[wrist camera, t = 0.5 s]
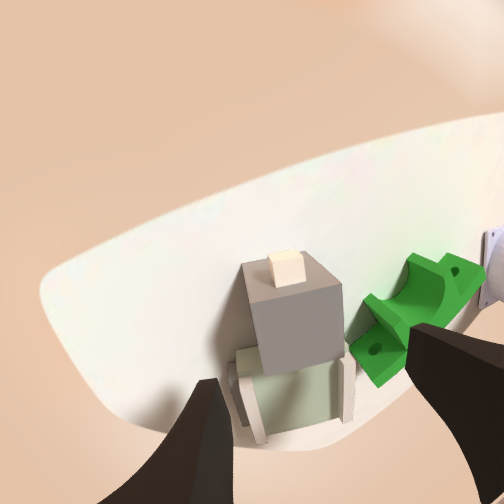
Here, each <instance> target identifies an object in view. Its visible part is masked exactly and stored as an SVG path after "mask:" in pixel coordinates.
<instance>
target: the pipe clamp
mask: <svg viewBox="0 0 504 504" xmlns="http://www.w3.org/2000/svg"><path fill="white" fill-rule="evenodd" d="M407 262H408V265H409V276H408V279H407V282H406V284H405V286H404V288H403V289H402V291H401V292H400V293H399V294H398V295H396V296H395V297H393V298H391V299H388V300H379V299H377V298H376V297H375V296H374V295H372V294H371V293H370V294H369V295H368V296H367V297H366V298H365V299H364V300H363V301H364V302H365V304H366V305H367V306H368V308H369V309H370V311H371V312H372V314H373V315H374V317H375V318H376V320H377V321H378V323H377V324H376V325H374V326H373V327H372V328H371V329H370V330H369V331H368V332H366V333H365V334H364V335H363V336H362V337H360V338H359V339H358V340H357V341H356V342H354V343H353V344H352V345H351V346H349V349H350V351H351V352H352V354H353V355H354V356H355V358H356V359H357V361H358V362H359V363H360V365H361V366H362V368H363V369H364V371H365V372H366V373H367V375H368V376H369V378H370V379H371V381H372V382H373V383H374V384H375V385H376V387H377V388H379V387H381V386H382V385H383V384H384V383H386V382H387V381H388V380H389V379H391V378H392V377H393V376H394V375H395V374H397V373H398V372H399V371H400V370H401V369H402V368H403V367H405V364H406V357H407V349H408V341H409V332H410V327H412V326H414V325H417V324H419V323H427V324H431V325H434V326H438V327H441V328H445V327H446V326H447V325H448V324H449V323H450V322H451V320H452V319H453V318H454V317H455V316H456V315H457V314H458V313H459V311H460V310H461V309H462V308H463V307H464V306H465V304H466V303H467V302H468V301H469V300H470V298H471V297H472V296H473V295H474V294H475V292H476V291H477V290H478V289H479V287H480V286H481V285H482V283H483V282H484V281H485V279H486V278H487V277H486V273H485V270H484V267H483V266H480V265H478V264H475V263H473V262H470V261H468V260H465V259H463V258H460V257H458V256H455V255H453V254H450V253H446V255H445V256H444V257H443V258H442V259H441V260H440V261H439V262H438V263H436V262H433V261H431V260H429V259H427V258H424V257H422V256H420V255H417V254H415V253H412V254H411V255H410V256H409V257H408V258H407Z"/></svg>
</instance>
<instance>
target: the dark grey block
mask: <svg viewBox="0 0 504 504" xmlns="http://www.w3.org/2000/svg"><path fill="white" fill-rule="evenodd" d="M242 268H243V273H244V278H245V283H246V288H247V293H248V298H249V303H250V308H251V313H252V318H253V323H254V328H255V333H256V337H257V342H258V347H259V352H260V357H261V361H262V366H263V371H264V376H265V377H268V376H273V375H278V374H282V373H287V372H291V371H295V370H299V369H304V368H308V367H311V366H315V365H319V364H323V363H326V362H330V361H333V360H337V359H340V358H344V357H345V345H344V314H343V295H342V283H341V282H340V281H339V280H338V279H336V278H335V277H334V276H333V275H332V274H331V273H330V272H329V271H327V270H326V269H325V268H324V267H323V266H322V265H321V264H320V263H318V262H317V261H316V260H315V259H314V258H313V257H312V256H310V255H309V254H308V253H307V252H306V251H302V252H298V251H297V250H296V249H293V250H288V251H283V252H278V253H273V254H268V258H267V259H262V260H257V261H252V262H247V263H242Z"/></svg>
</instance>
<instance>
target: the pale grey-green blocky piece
mask: <svg viewBox="0 0 504 504" xmlns="http://www.w3.org/2000/svg"><path fill="white" fill-rule="evenodd" d="M344 345H345V357H344V358H340V359H337V360H333V361H330V362H326V363H323V364H319V365H315V366H311V367H308V368H304V369H299V370H295V371H291V372H287V373H282V374H278V375H273V376H268V377H265V376H264V371H263V366H262V361H261V357H260V352H259V347H258V346H255V347H250V348H245V349H239V350H236V362H232V363H227V370H228V383H229V386H230V389H231V392H232V396H233V399H234V402H235V405H236V408H237V411H238V414H239V417H240V420H241V423H242V426H243V427H245V426H251V429H252V432H253V435H254V438H255V441H256V444H257V445H259V444H265V443H268V442H267V436H266V435H270V434H276V433H280V432H285V431H290V430H294V429H298V428H302V427H306V426H310V425H314V424H318V423H321V422H325V421H328V420H332V419H335V418H338V417H339V418H340V420H341V422H342V424H345V423H348V422H351V421H353V411H354V396H355V376H356V361H355V360H354V358H353V357H352V355H351V354H350V352H349V345H348V344H347V342H346V341H345V340H344Z"/></svg>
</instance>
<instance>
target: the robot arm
mask: <svg viewBox="0 0 504 504" xmlns="http://www.w3.org/2000/svg"><path fill="white" fill-rule="evenodd" d="M483 267H484V270H485V273H486V277H487V278H486V279H485V281H484V282H483V283H482V285H481V292H480V299H479V309H481V310H483V309H484V308H486V307H488V306H490V305H492V304H493V303H495V302H497V301H498V300H500V301H502V302H504V225H501V226H498V227H494V228H491V229H488V230H487V231H486V233H485V250H484V265H483ZM405 370H406V371H407V373H408V375H409V377H410V378H411V380H412V382H413V383H414V385H415V386H416V388H417V389H418V390H419V391H420V393H421V394H422V395H423V396H424V398H425V399H426V400H427V401H428V403H429V404H430V405H431V406H432V407H433V409H434V410H435V411H436V412H437V413H438V415H439V416H440V417H441V418H442V420H443V421H444V422H445V423H446V425H447V426H448V428H449V429H450V431H451V432H452V434H453V436H454V437H455V439H456V441H457V442H458V444H459V446H460V448H461V450H462V452H463V454H464V456H465V458H466V460H467V462H468V465H469V467H470V469H471V472H472V475H473V477H474V480H475V484H476V487H477V490H478V494H479V498H480V502H481V503H482V504H490V503H492V502H493V501H494V500H495V499H497V498H498V497H499V496H500V495H501V494H502V493H503V492H504V345H502V344H497V343H492V342H488V341H484V340H480V339H476V338H473V337H470V336H466V335H463V334H460V333H457V332H453V331H450V330H447V329H444V328H441V327H438V326H434V325H431V324H427V323H419V324H417V325H414V326H412V327H410V332H409V341H408V349H407V357H406V364H405ZM98 504H234V503H233V434H232V425H231V417H230V414H229V411H228V408H227V406H226V403H225V400H224V397H223V394H222V391H221V388H220V385H219V382H218V379H217V378H212V379H205V380H199V382H198V383H197V385H196V387H195V389H194V391H193V393H192V394H191V396H190V398H189V400H188V402H187V404H186V406H185V407H184V409H183V411H182V412H181V414H180V416H179V417H178V419H177V421H176V422H175V424H174V426H173V427H172V429H171V430H170V432H169V433H168V434H167V436H166V437H165V439H164V440H163V442H162V443H161V444H160V446H159V447H158V448H157V450H156V451H155V452H154V453H153V454H152V456H151V457H150V458H149V459H148V460H147V461H146V462H145V464H144V465H143V466H142V467H141V468H140V469H139V470H138V471H137V472H136V473H135V474H134V475H133V476H132V477H131V478H130V479H129V480H128V481H126V482H125V483H124V484H123V485H122V486H121V487H119V488H118V489H117V490H116V491H114V492H113V493H112V494H110V495H109V496H108V497H107V498H105V499H103V500H102V501H101V502H99V503H98ZM497 504H504V498H503V499H501V500H500V501H499V502H498V503H497Z"/></svg>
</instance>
